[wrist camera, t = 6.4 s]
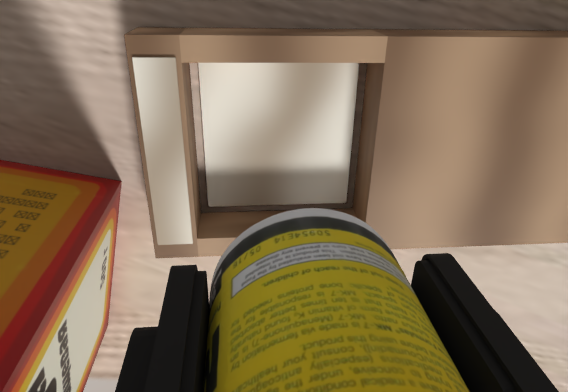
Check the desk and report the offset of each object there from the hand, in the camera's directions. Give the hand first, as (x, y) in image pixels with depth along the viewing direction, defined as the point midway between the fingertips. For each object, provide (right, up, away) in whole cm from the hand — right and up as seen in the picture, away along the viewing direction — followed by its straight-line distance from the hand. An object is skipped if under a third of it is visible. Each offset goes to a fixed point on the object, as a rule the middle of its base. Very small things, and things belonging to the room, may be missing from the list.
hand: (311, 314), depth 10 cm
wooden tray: (+5, +6, +11) cm, 14 cm away
